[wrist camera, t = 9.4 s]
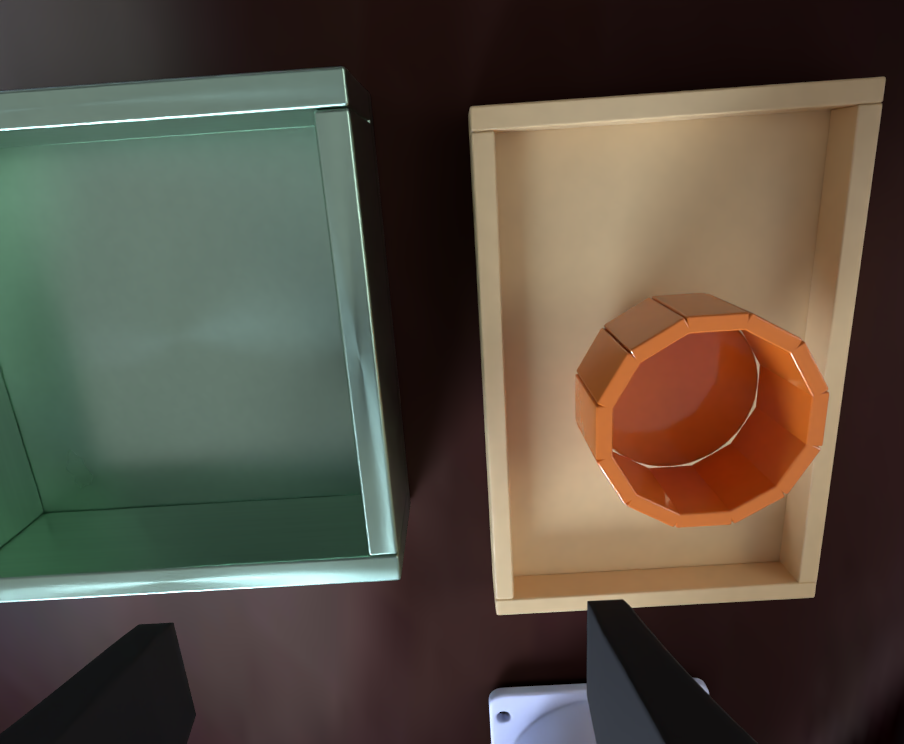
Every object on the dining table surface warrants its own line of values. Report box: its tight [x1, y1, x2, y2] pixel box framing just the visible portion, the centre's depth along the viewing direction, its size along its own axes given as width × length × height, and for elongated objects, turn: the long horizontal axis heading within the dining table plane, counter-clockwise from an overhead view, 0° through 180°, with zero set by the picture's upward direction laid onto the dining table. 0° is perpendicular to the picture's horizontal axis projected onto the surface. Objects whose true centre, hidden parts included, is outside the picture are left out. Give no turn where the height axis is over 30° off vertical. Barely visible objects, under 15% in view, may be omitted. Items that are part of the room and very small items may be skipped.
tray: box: [468, 77, 886, 615], centre depth 18 cm, size 15×10×2 cm
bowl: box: [575, 293, 829, 528], centre depth 16 cm, size 5×5×4 cm
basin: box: [0, 66, 410, 603], centre depth 16 cm, size 13×13×4 cm
